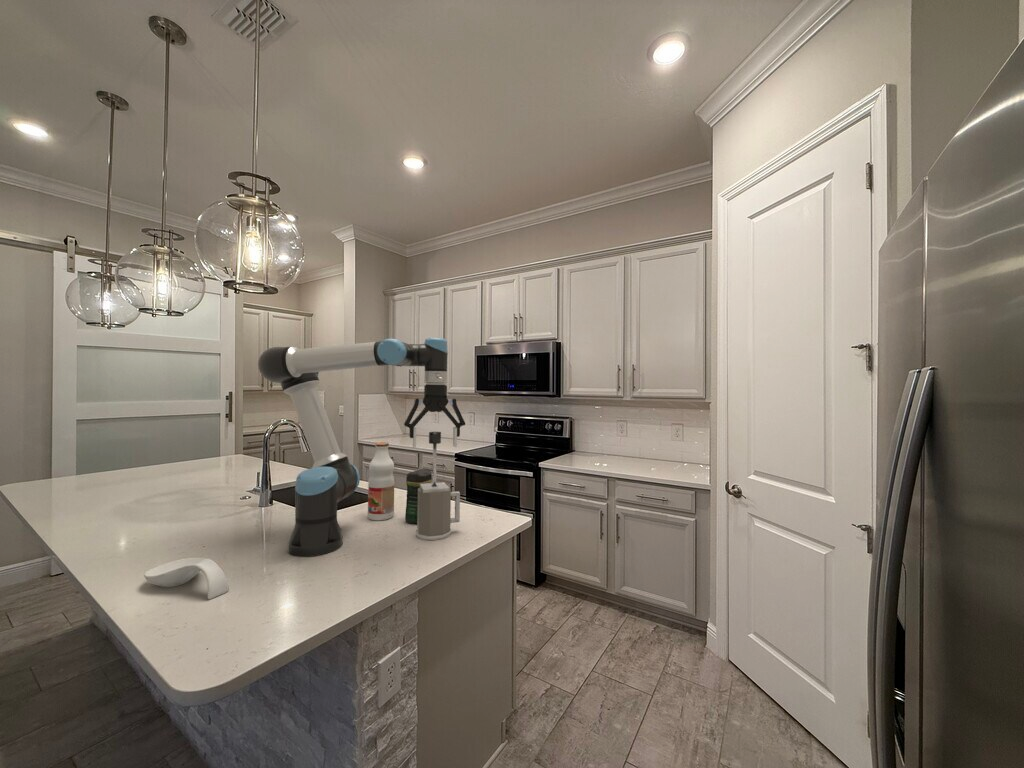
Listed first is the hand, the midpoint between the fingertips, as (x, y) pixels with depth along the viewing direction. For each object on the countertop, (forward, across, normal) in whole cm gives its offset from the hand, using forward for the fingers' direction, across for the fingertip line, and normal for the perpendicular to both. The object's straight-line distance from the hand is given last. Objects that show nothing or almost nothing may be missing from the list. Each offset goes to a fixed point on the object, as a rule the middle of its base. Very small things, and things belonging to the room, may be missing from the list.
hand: (434, 447), depth 140 cm
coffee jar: (+29, -3, +16) cm, 34 cm away
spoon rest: (+30, -63, -17) cm, 72 cm away
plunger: (+15, 0, 0) cm, 15 cm away
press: (+29, +1, 0) cm, 29 cm away
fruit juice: (+29, -16, +24) cm, 41 cm away
